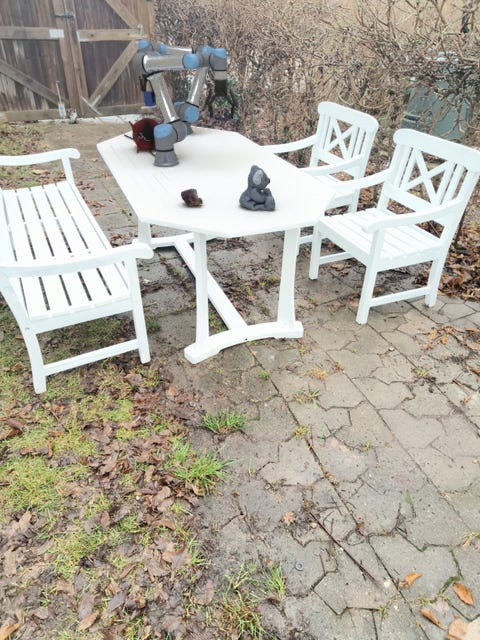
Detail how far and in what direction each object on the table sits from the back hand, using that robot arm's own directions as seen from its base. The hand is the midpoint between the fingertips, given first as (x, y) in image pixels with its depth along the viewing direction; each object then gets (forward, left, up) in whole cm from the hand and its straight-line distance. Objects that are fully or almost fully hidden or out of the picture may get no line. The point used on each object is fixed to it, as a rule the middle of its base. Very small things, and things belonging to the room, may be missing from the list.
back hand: (150, 102), depth 332 cm
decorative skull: (+20, -15, -27) cm, 37 cm away
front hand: (+87, +3, +1) cm, 87 cm away
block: (0, 0, -2) cm, 2 cm away
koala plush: (+159, -26, -27) cm, 164 cm away
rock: (+137, -52, -27) cm, 149 cm away
